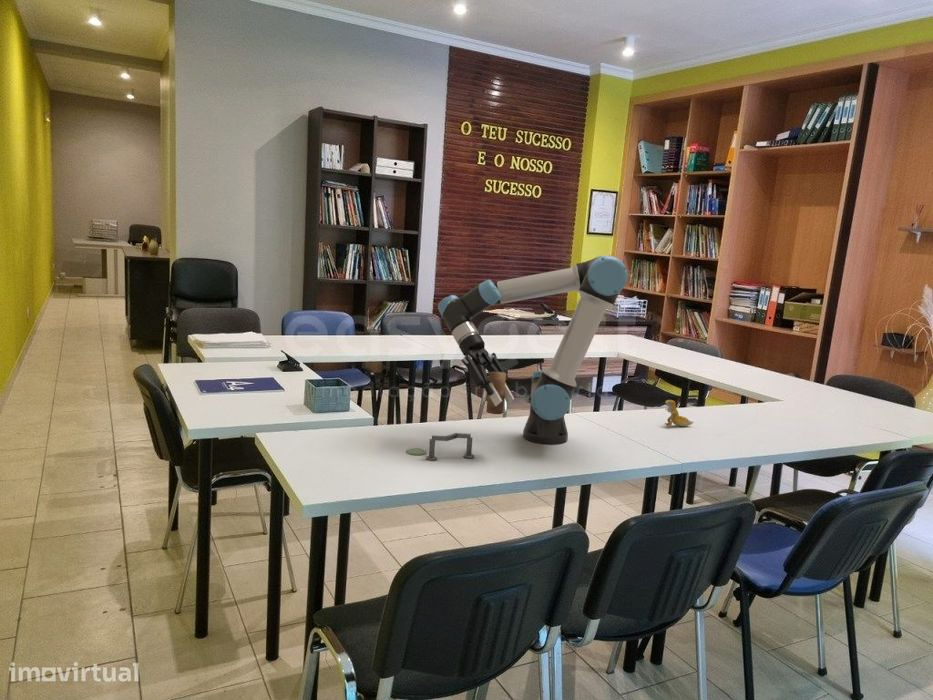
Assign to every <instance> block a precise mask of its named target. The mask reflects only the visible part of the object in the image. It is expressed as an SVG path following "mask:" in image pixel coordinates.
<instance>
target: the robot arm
mask: <svg viewBox="0 0 933 700" xmlns="http://www.w3.org/2000/svg"><path fill="white" fill-rule="evenodd" d="M627 282H628V270H627V267H626V265H625V264H624V263H623V261H622V260H621V259H619V258H618V257H615V256H613V255H609V254H608V255H600V256H596V257H595V258H591V259H589V260H585V261H583V262H579V263H574V264H573V266H571V267H568V268H563V269H558V270H553V271H547V272H542V273H538V274H532V275H525V276H520V277H516V278H515V277H514V278H510V279H509V278H508V279H505V280H499V281H492V280H491V279H486V280H484V281H483V282H481V283H479V284H478V285H476V286H475V287H473V288H472V289H471V290H469V291H468V292H466V293H465V294H464V295H462V296H460V297H458V296H457V295H456V294H451V295H448V296H446V297H444V298H443V299H441V300H440V301H439V303H438V305H437V309H438V311H439V313H440V317H441V319H442V320H443V322H444V324H445V325H446V327H447V328H448V330H449V332H450V334H451V335H452V337H453V339H454V341H455V342H456V344H457V346H458V348H459V350H460V352H461V353H462V355H463V356H464V357H463V358H462V359H461V362H462V363H463V364H464V366H465V367H466V369H467V371H468V372H469V375H470V376H471V377H472V380H473V381H474V383H475V385H476V386H477V387H480V389H481V390H484V391H485V393H486V394H487V396H488V395H489V396H490V398H491V400H492V401H493V403H494V405H495V406H497V405H498V404H499V403H501V402H502V400H501V398H500V396H499V394H498V393H497V391H496V389H495V387H494V386H493V384H492V383H490V384H489V376H488V375H487V372H488V373H489V372H503V373H506V371H505V369H504V368H503V365H502V364H501V363H500V361H499V360H498V357H497V354H496V353H495V352H492V353H489V351H487V350H486V348H485V345H486V344H485V341H484V340H483V338H482V335H481V334H480V333H479V330H478V329H477V327H476V326H475V324H474V323H473V322H474V321H472V319H473V318H475V317H476V316H477V315H479V314H480V313H482V312H483V311H485V310H487V309H489V308H490V307H492V306H493V307H494V306H498V305H502V304H508V303H513V302H519V301H524V300H529V299H535V298H540V297H546V296H548V297H549V296H554V295H558V294H564V293H569V292H578V293H579V296H580V299H579V300H578V303H577V305H576V307H575V310H574V312H573V313H572V314H573V315H572V317H571V319H570V321H569V322H568V325H567V328H566V330H565V332H564V334H563V336H562V339H561V340H560V344H559V346H558V348H557V349H556V352H555V355H554V356H553V359H552V361H551V363H550V365H549V367H546V368H545V369H542V370H534V371H533V372H532V377H531V388H530V389H531V391H530V403H529V415H528V417H527V420H526V422H525V425H524V427H523V431H522V432H523V433H522V438H524V439H525V440H527V441H530V442H532V443H538V444H546V445H547V444H548V445H557V444H559V445H560V444H563V443H567V441H568V437H569V433H568V429H567V425H566V424H567V423H566V420H565V416H566V414H567V412H568V411H569V409H570V405H571V400H572V397H573V396H574V393H575V390H576V388H577V386H578V385H577V382H576V378H577V377H576V376H577V374H578V373H579V369H580V368H581V366H582V364H583V360H584V359H585V357H586V354H587V353H588V350H589V348H590V346H591V344H592V342H593V339H594V337H595V335H596V333H597V331H598V329H599V326H600V323H601V322H602V319H603V318H604V315H605V313H606V311H607V309H609V308H611V307H613V306H614V305H615V302H616V301H617V298H618V297H619V294H620V292H621V291H622V290H623V289H624V288H625V286H626V284H627ZM486 371H487V372H486ZM508 379H509V376H508V375H507V373H506V380H505V393H504V401H505V402H506V404H507V405H510V404H511V403H512V402H513V401H514V400H515V398H514V395H513V394H512V392H511V390H510V387H509V386H508V384H507V382H506V381H507V380H508Z"/></svg>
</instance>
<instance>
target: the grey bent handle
mask: <svg viewBox="0 0 933 700" xmlns="http://www.w3.org/2000/svg"><path fill="white" fill-rule="evenodd" d="M471 435H472V434H471V433H465V432H464V433H463V432H462V433H461V432H455V433H450V434H447V435H431V438H429V442H428V443H429V445H428V446H429V447H428V448H429V449H428V455H427V456H426V457H425V460H427V461H430V462H434V461H437V460H438V457H437V456H436V455H435V450H436V441H437V442H438V441H439V442H449V441H452V440H453V441H454V440H456V439H466V453H464V454H463V458H464V459H467V460H470V459H471V460H473V459H475V454H473V437H471Z"/></svg>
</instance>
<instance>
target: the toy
mask: <svg viewBox="0 0 933 700" xmlns="http://www.w3.org/2000/svg"><path fill="white" fill-rule="evenodd" d="M664 402H665V403H664V404H665V405H666V406H667V407H668V408H665V409H664V410H665V411H667V412H668V413H670V416H669V417H668V418H667V422H664V424H665V425H667V424H669V425H667V426H665V428H666V429H670V428H671V427H672V424H673V425H676V426H677V427H679V426H682V428H683V426H685V427H688V426H691V425H693V424H694V421H691V420H689V418H687V417H685V416H681V415H679V414H680V413H679V411H678V409H677V407H676V401H675V400H673V399H667V400H665V401H664Z"/></svg>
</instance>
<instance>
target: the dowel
mask: <svg viewBox="0 0 933 700" xmlns="http://www.w3.org/2000/svg"><path fill="white" fill-rule="evenodd" d="M506 374H507V372H505V373H503V372H488V380H489V384H490V383H492V384H493V386H494V387H495V389H496V391H497V393H498V394H499V396H500V398H501V400H502V402H501V403H499V404H498V405H497V406H495V405H494V403H493V401H492V400H491V398H490V396H489V395H488V394H487V397H486V398H487V399H486V409H485V410H486V414H487V413H488V414H492V415H502V414H503V413H504V402H505V399H504V393H505V382H506V381H507V380H506ZM505 380H506V381H505Z"/></svg>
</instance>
